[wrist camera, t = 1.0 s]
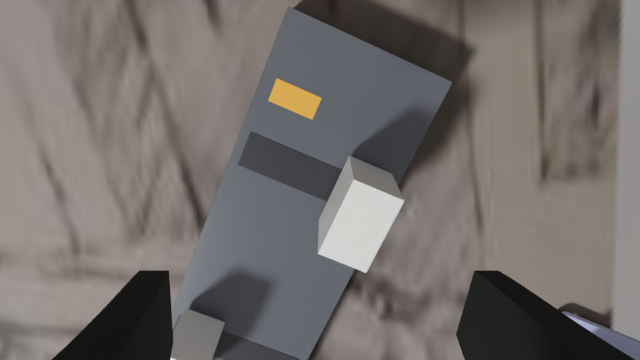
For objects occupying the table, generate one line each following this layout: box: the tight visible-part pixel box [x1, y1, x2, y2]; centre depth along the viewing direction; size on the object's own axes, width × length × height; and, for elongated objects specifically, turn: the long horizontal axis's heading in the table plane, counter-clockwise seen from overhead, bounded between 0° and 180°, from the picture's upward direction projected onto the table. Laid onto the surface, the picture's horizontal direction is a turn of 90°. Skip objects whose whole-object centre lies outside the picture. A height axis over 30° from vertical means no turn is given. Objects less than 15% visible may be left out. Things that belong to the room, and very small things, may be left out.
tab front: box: [318, 156, 405, 273], centre depth 18 cm, size 2×3×3 cm, turn 157°
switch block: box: [171, 6, 452, 360], centre depth 22 cm, size 7×22×2 cm, turn 156°
